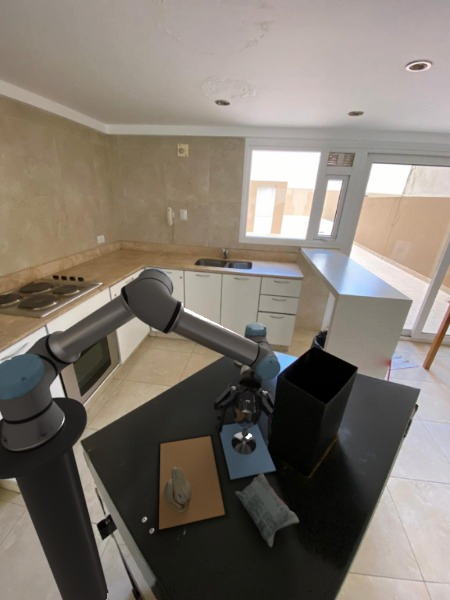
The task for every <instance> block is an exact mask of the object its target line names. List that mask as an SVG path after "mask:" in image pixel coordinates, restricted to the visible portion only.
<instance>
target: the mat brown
mask: <svg viewBox="0 0 450 600" xmlns="http://www.w3.org/2000/svg"><path fill="white" fill-rule="evenodd" d="M212 443H213V442H212V438H211V435H208V436H201V437H196V438H195V437H194V438H188V439H182V440H175V441H169V442H162V443H160V451H159V452H160V457H159V458H160V459H159V460H160V461H159V463H160V464H159V503H158V504H159V507H158V509H159V510H158V530H163V529H169V528H172V527H178V526H182V525H186V524H190V523H194V522H199V521H203V520H204V521H205V520H208V519H212V518H216V517H221V516H225V515H226V513H225V507H224V502H223V501H224V500H223V497H222V492H221V486H220V481H219V475H218V469H217V465H216V460H215V454H214V448H213V444H212ZM173 467H176V468H178V467H179V468H181V469H182V471H183V473H184V476H185V479H186V480H187V481H188V483H189V485H190V487H191V499H190V502H189V503H190V504H189V508H188V510H187V511H186V512H185V513H177V512H176V511H174V510H172V509H171V508H170V507H169V505H168V503H167V501H166V499H165V486H166V483H167V482H168V481H169V480H170V479H172V468H173Z"/></svg>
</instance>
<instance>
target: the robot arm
mask: <svg viewBox="0 0 450 600" xmlns="http://www.w3.org/2000/svg"><path fill="white" fill-rule="evenodd" d="M173 293H174V283H173V280H172V278H171V276H170V274H168V273H167V272H166V271H165V270H163V269H162V268H156V267H150V268H147V269H144V270H142V271H141V272H140V273H139V274H138V276H137V277H135V278H134V279H132V280H131V281H129V282H128V283H126V284H125V285H123V286H122V287H121V288H120V292H119V295H117V296H115V297H114V298H113V299H111V300H109V301H108V302H107V303H105V304H103V305H102V306H100V307H99V308H97V309H96V310H94V311H93V312H91V313H90V314H88V315H86V316H85V317H84V318H82V319H80V320H78V322H76V323H74V324H73V325H71V326H70V327H68V328H66V329H65V330H64V331H63V330H55V331H53V332H52V333H48V334H46V335H44V336H42V337H40V338H39V339H37V341H35V342H34V343H33V345H32V346H31V347H29V348H28V349H27V351H25V352H24V353H22V354H17V355H14V356H12V357H11V358H10V359H5V360H4V361H2V362H1V363H0V415H1V417H2V418H3V420H4V422H3V429H2V432H1V433H2V436H1V441H2V444H3V447H4V449H5V450H7V451H8V452H11V453H24V452H29V451H32V450H35V449H37V448H39V447H41V446H43V445H45V444H47V443H48V442H50V441H51V440H52V439H54V438H55V437H56V436H57V435H58V434H59V433H60V431H61V430H62V428H63V427H64V424H65V416H64V413H63V411H62V410H61V409H60V408H59V407H58V406H57V404H56V403H55V402H54V401H53V399H52V398H53V395H52V391H51V386H52V384H54V382H55V381H56V379H57V377H58V376H59V375H60V373H61V372H62V371H63V370H64V369H66V368H67V367H69V366H70V365H72V364H73V363H75V362H77V361H78V360H79V359H80V357H81V353H82V352H83V351H85V350H86V349H88V348H90V347H91V346H93V345H94V344H96V343H98V342H99V341H101V340H103V339H104V338H106V337H107V336H109V335H110V334H111V333H114V332H115V331H116V330H119V328H121V327H123V326H125V325H126V324H127V323H130V322H131V321H132V320H134V319H135V318H137V319H138V320H139V321H141V322H142V323H144V324H145V325H147V326H149V327H151V328H152V329H154V330H157V331H158V332H161V333H163V334H165V335H169V334H174V335H177V336H180V337H181V338H184V339H186V340H188V341H191V342H193V343H195V344H197V345H200V346H202V347H204V348H206V349H208V350H210V351H213V352H215V353H218V354H220V355H222V356H225V357H226V358H229V359H231V360H233V361H236V362H238V363H239V364H241V368H240V373H239V378H238V385H237V386H233V384H232V383H228V384H227V388H226V389H225V390H224V391H223V392H221V394H220V395H219V396H218V397H217V398H216V399H215V400H214V401H213V402H214V403H213V409H214V411H217V416H216V417H217V421H219V423H218V426H219V427H218V433H219V434H220V433H222V428H223V425H224V423H225V419H226V411H228V410H229V409H230V408H231V407H232V403H233V398H234V396H235V395H236V394H237V393H239V392H242V391H250V392H253V393H256V394H257V395H258V396H260V398H261V399H262V401H263V408H262V413H264V415H266V416H267V437H266V439H267V441H266V442H271V440H272V433H273V432H272V430H273V429H271V423H272V415H273V408H274V400H275V398H274V396H273V393H272V389H267V390H266V391H265V390H263V389H262V387H263V386H262V382H263V381H262V380H264V381H271V380H273V379H275V378H277V376H279V374H280V373H281V364H280V361H279V358H278V356H277V355H276V353H275V352H274V350H273V348H272V347H271V344H270V343H269V341H268V339H267V335H268V334H267V327H266V325H264V324H263V323H260V322H250V323H248V324H247V325H245V329H244V333H243V334H244V336H243V335H241V334H239V333H237V332H235V331H232V330H231V329H228V328H226V327H225V326H222V325H220V324H219V323H216V322H214V321H213V320H210V319H208V318H206V317H204V316H202V315H200V314H198V313H196V312H194V311H192V310H190V309H188V308H186V307H185V306H184V303H183V302H182V301H180V300H178V299H176V298H175V297H173V296H172V295H173ZM233 393H234V394H233ZM263 397H264V398H265V399H264V398H263ZM265 400H266V401H265Z"/></svg>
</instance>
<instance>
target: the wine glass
mask: <svg viewBox="0 0 450 600" xmlns="http://www.w3.org/2000/svg"><path fill="white" fill-rule="evenodd" d="M231 407H232V408H231V409H232V416H233V419H234V421H235V423H237V424H238V425H239V426H241V427H242V428H243V432H240V433H237V434H235V435H234V436H233V438H232V441H231V444H232V447H233V449H234V450H235V451H236V452H238V453H239V454H243V455H248V454H251V453H252V452H254V450H255V449H256V440H255V439H254V437H253V436H252V435H250V434H249V433H247V430H248V428H251V427H253V426H255V425H256V424H257V425H258V423H259V421H260V420H261V416H262V414H263V411H262V408H263V401H262V399H261V398H260V396H258V395H257V394H256V393H253V392H250V391H242V392H239V393H237V394H236V395H235V396H234V398H233V403H232V406H231Z"/></svg>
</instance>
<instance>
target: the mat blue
mask: <svg viewBox="0 0 450 600" xmlns="http://www.w3.org/2000/svg"><path fill="white" fill-rule="evenodd" d="M217 426H218V428H219V425H217ZM240 432H243V428H242V427H241V426H239V425H238V424H237V423H236V422H235V423H230V424H223V428H222V433H219V435H220V439H221V444H222V449H223V454H224V458H225V461H226V466H227V471H228V475H229V478H230V480H236V479H241V478H248V477H252V476H256V475H257V476H258V475H259V474H260V473H261V471H263V474H268V473H273V472H276V471H277V468H276V467H275V464H274V461H273V460H272V457H271V454H270V451H269V449H268V447H267V445H266V442H265V440H264V439H265V438H264V437H263V434H262V432H261V430H260V427H259V424H258V423H257V424H256V425H255V426H253V427H251V428H248V430H247V433H249V434H250V435H252V436H253V437H254V439H255V440H256V449H255V450H254V452H252V453H251V454H248V455H243V454H239V453H238V452H236V451H235V450H234V449H233V447H232V444H231V441H232V438H233V436H234V435H235V434H237V433H240Z"/></svg>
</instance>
